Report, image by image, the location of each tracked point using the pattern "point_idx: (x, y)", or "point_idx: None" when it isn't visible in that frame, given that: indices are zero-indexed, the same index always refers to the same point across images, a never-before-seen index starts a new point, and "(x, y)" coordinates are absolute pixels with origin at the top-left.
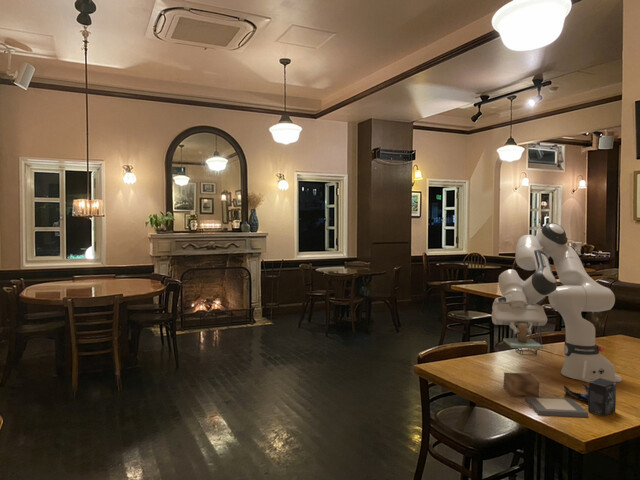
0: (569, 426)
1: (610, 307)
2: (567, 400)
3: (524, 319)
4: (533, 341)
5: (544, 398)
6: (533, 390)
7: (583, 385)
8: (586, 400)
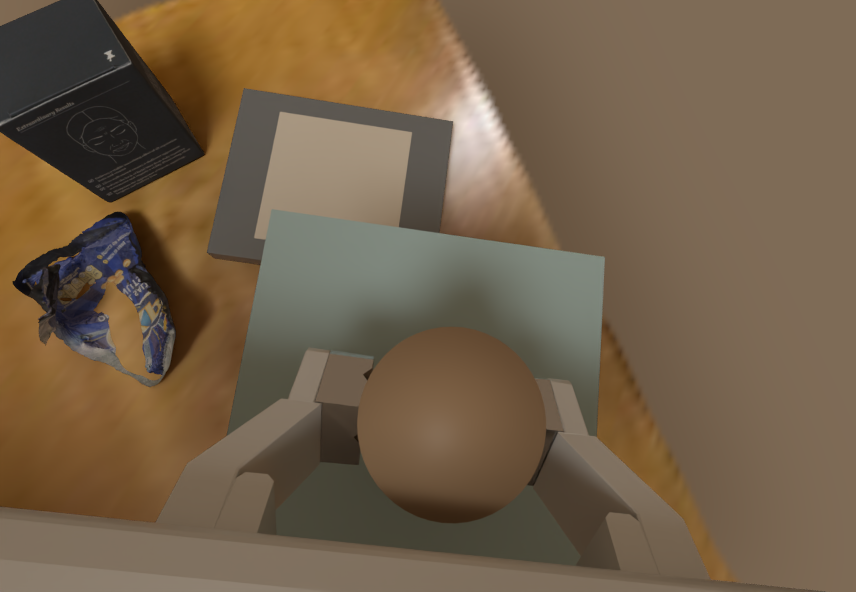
0: (383, 31)
1: None
2: (245, 227)
3: (352, 571)
4: None
5: None
6: None
7: (55, 311)
8: (121, 266)
